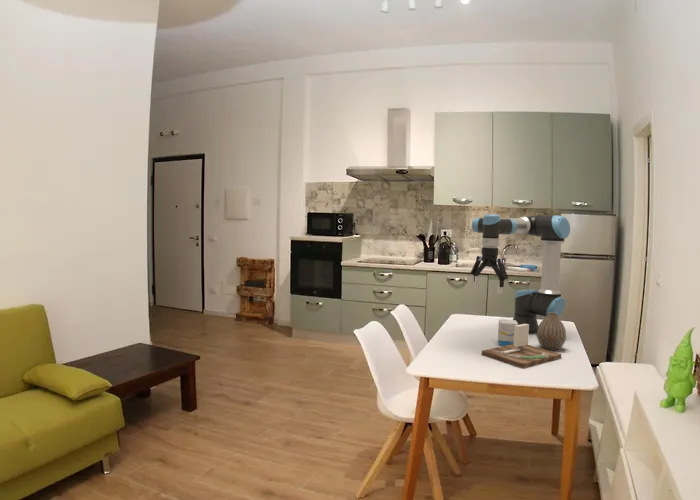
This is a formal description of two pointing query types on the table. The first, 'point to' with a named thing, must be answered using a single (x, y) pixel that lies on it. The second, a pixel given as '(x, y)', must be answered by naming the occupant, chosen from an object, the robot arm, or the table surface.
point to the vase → (551, 332)
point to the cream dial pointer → (519, 337)
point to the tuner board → (521, 355)
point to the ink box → (506, 332)
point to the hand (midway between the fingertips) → (487, 291)
